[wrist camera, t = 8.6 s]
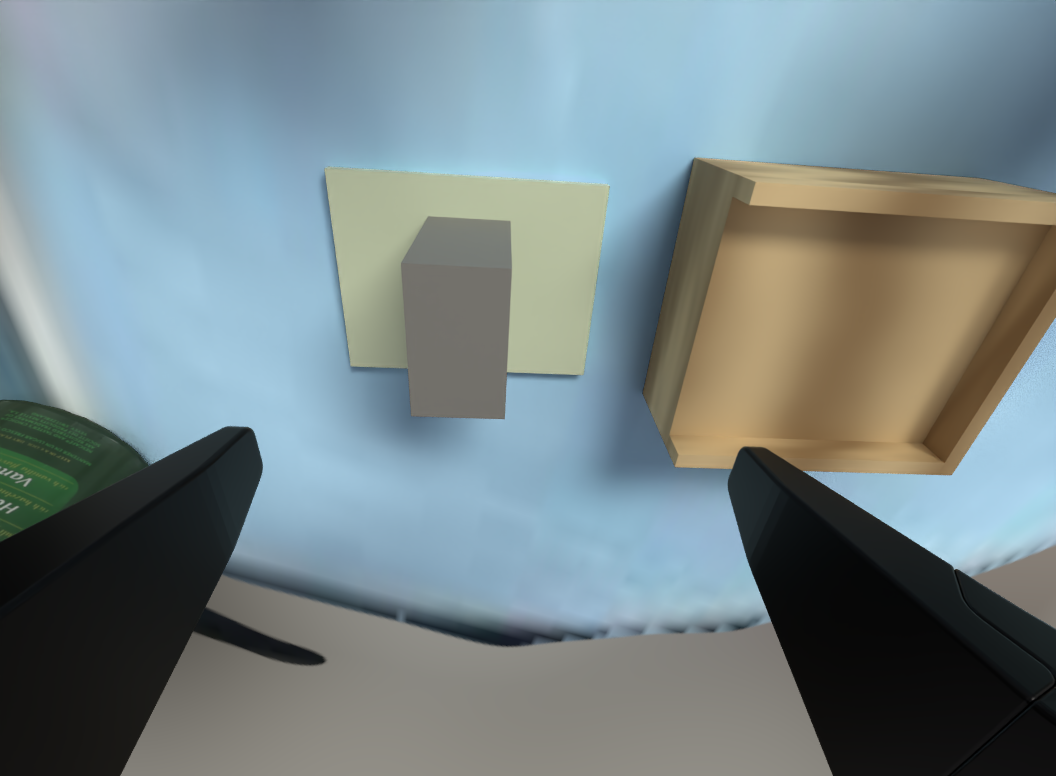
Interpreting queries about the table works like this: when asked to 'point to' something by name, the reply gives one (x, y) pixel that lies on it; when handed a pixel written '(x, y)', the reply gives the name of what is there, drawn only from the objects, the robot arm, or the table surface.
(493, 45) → the table surface
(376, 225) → the cover plate
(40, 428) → the coffee jar
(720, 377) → the oak box
